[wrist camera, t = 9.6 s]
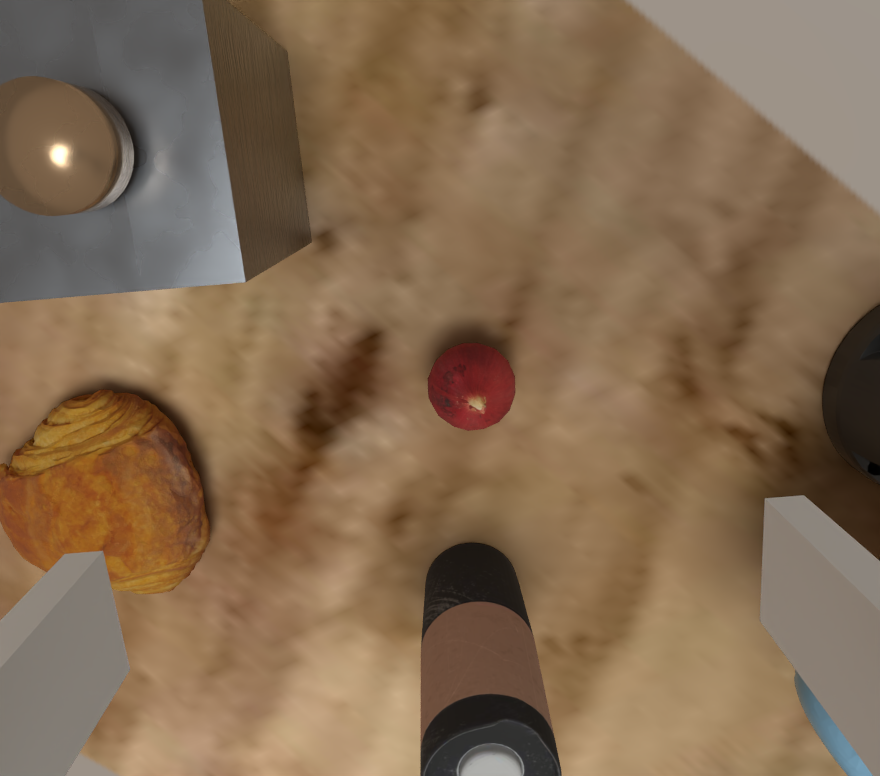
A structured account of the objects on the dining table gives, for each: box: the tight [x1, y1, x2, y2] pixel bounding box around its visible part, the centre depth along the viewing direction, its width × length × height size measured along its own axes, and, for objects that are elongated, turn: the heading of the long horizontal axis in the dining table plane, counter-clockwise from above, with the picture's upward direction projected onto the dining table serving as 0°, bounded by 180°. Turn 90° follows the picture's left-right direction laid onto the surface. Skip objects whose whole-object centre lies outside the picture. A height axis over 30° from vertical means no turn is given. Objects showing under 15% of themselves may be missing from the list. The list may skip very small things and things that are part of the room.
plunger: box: [0, 76, 134, 216], centre depth 38 cm, size 9×9×20 cm
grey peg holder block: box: [0, 0, 312, 303], centre depth 40 cm, size 12×12×19 cm
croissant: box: [0, 389, 210, 594], centre depth 53 cm, size 14×16×8 cm
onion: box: [428, 343, 515, 431], centre depth 50 cm, size 6×6×8 cm
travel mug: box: [421, 543, 561, 776], centre depth 49 cm, size 8×8×20 cm
